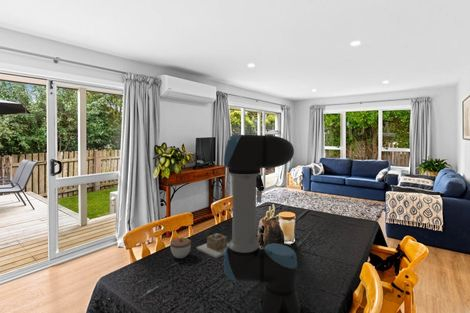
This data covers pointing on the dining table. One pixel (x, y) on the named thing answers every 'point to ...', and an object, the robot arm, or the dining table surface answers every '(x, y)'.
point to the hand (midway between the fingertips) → (251, 204)
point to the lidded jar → (180, 247)
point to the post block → (211, 251)
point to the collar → (216, 242)
